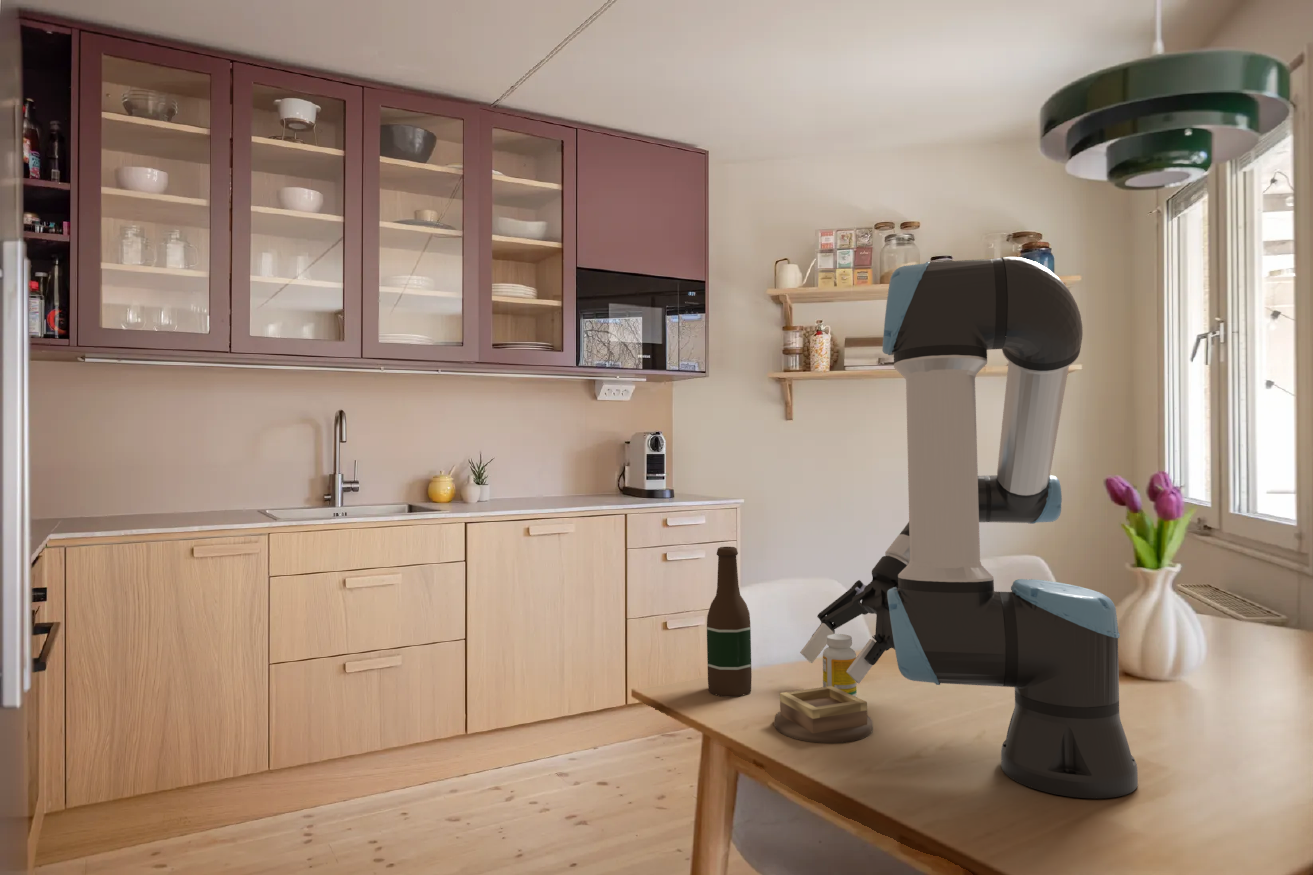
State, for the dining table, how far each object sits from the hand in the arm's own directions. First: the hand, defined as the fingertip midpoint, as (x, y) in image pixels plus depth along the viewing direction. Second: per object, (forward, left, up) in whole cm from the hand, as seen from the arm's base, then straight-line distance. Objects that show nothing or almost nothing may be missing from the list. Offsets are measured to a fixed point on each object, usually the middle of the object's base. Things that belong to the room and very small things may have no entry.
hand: (828, 667), depth 140 cm
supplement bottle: (0, -2, -5) cm, 5 cm away
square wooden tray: (-12, +9, -5) cm, 16 cm away
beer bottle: (+10, +13, -5) cm, 17 cm away
